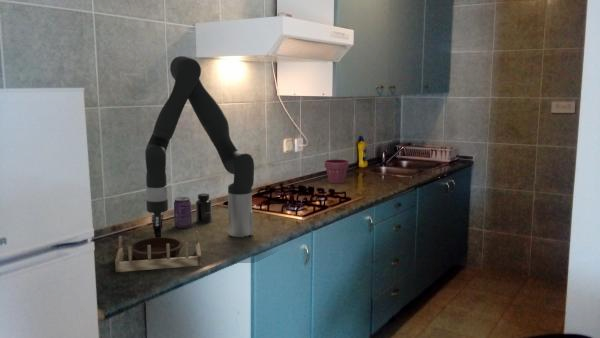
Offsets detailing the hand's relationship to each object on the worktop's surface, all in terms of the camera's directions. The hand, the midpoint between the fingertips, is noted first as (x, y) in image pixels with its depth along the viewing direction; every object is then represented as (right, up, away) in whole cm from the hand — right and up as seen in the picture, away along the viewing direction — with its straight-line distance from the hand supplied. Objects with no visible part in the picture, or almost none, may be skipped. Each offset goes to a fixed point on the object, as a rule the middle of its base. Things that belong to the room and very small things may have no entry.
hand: (158, 243), depth 195 cm
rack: (+4, -4, -13) cm, 14 cm away
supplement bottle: (+10, +5, +35) cm, 37 cm away
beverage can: (+3, +3, +27) cm, 27 cm away
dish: (+2, -4, -11) cm, 12 cm away
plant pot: (+74, +20, +119) cm, 142 cm away
